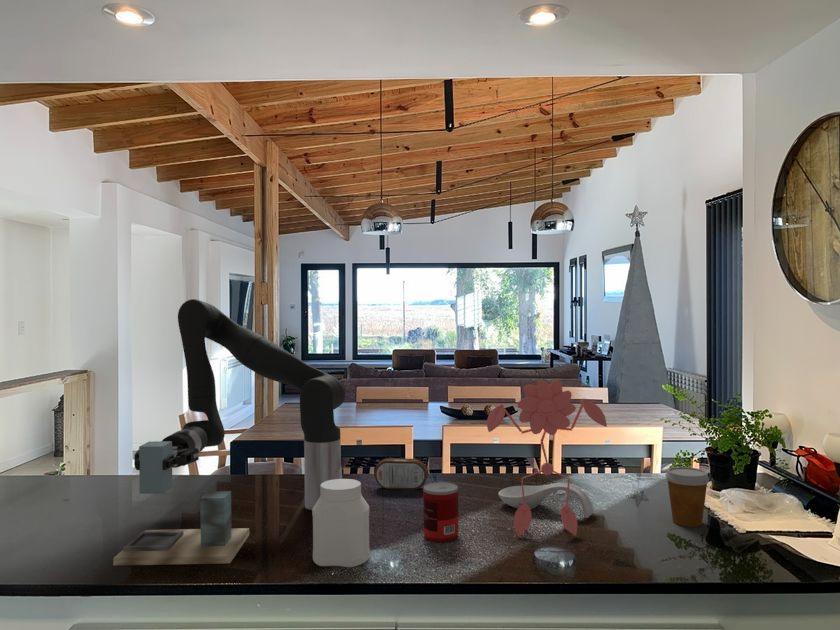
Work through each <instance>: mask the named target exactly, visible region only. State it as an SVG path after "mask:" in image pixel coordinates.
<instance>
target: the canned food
mask: <svg viewBox="0 0 840 630" xmlns="http://www.w3.org/2000/svg"><path fill="white" fill-rule="evenodd" d="M422 492H423V494H422V497H423V498H422V500H423V503H422V504H423V505H422V506H423V510H422V512H423V535H424V537H425V539H426V540H428V541H430V542H434V543H448V542H451V541H454V540H455V539H457V538H458V534H459V486H458V485H457V484H454V483H452V482H444V481H443V482H441V481H440V482H431V483H427V484H424V485H423V491H422Z"/></svg>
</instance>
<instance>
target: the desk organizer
mask: <svg viewBox="0 0 840 630" xmlns="http://www.w3.org/2000/svg"><path fill="white" fill-rule="evenodd" d="M199 502H200V503H199V504H200V506H199V510H200V512H199V513H200V514H199V515H200V517H199V519H200V522H199V523H200V528H188V529H186V528H184V529H183V528H181V529H178V528H177V529H176V528H175V529H145V530H144V531H141V532H140V533H138V534H137V535H136V536H135V537H134V538H133V539H131V540H130V541H129V542H128V543H126V545H124V546H122V550H121V551H119V552H118V553H117V554H116V555H115V556H114V557H113V560H112V561H113V564H112V565H113V566H155V565H156V566H158V565H163V566H164V565H207V564H208V565H209V564H213V565H215V564H217V565H218V564H219V565H220V564H231V562H232V561H233V559H234V558H235V557H236V555H237V554H238V552H239V551H240V549H241V548H242V547H243V545H244V543H245V542H246V541H247V540H248V538H249V536H250V528H249V527H244V528H243V527H242V528H240V527H239V528H232V491H231V490H212V491H210V490H209V491H206V492H205V493H204V494H203V495H202V496H201V497H200V498H199Z"/></svg>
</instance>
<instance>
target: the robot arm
mask: <svg viewBox="0 0 840 630" xmlns="http://www.w3.org/2000/svg"><path fill="white" fill-rule="evenodd" d="M177 323H178V328H179V332H180V337H181V344H182V348H183V353H184V354H183V355H184V359H185V367H186V376H187V377H186V378H187V379H186V380H187V403H188V409H189V410H190V411H191V412H194V413H195V412H196V413H204V414H205V415H206V417H207V419H203V420H202V419H201V420H195V421H189V422H186V423H185V424H184V425H183V427H182V430H178V431H175V432H174V433H171V434H169V435H168V436H166V437H164V438H162V440H161V441H172V454H171V456H169V457H167V458H165V459H164V460H163V461H162V469H163V470H167V469H169V468H170V467H172V469H175V468H180V467H185V466H187V465H189V464H192V463H194V462H196V461H199V460H200V459H199V457H200V455H199V454H200V453H201V452H202V451H203V450H204V449H205V448H209V447H216V446H219V445H221V444H222V442H223V440H224V439H225V432H226V431H225V428H224V425H223V421H222V418H221V416H220V414H219V410H218V409H219V408H218V405H217V389H216V380H215V375H214V370H213V367H212V365H211V361H210V359H209V357H208V353H207V349H206V348H207V347H206V339H208V340H210V341H212V342H214V343H216V344H218V345H220V346H222V347H224V349H226V350H227V351H228V352H229V353H230V354H231V355H232V356H233V357H234V358H235V359H236V360H237V361H238V363H240V364H241V365H243V366H244V367H246V368H247V369H248V370H251V371H252V372H254V373H255V374H257V375H258V376H261V377H263V378H266V379H268V380H271V381H275V382H277V383H281V384H284V385H288V386H290V387H293V388H295V389H296V390H298V391H300V393H299V413H300V414H299V415H300V426H301V430H302V433H303V439H304V440H303V448H304V449H303V451H304V452H303V454H304V455H303V456H304V457H303V459H304V460H303V461H304V464H303V465H304V508H305V509H306V510H308V511H312V509H313V507H314V506H315V504H316V502H317V501H318V499H319V498H320V495H321V494H320V492H321V491H320V485H321V484H322V483H323V482H325V481H328V480H334V479H343V474H342V473H343V471H342V470H343V467H342V463H341V459H342V458H341V456H342V455H341V453H342V452H341V449H342V448H341V445H342V444H341V428H340V427H339V426H338V425H336V423H335V416H334V415H335V414H334V411H335V410H336V409H338V408H339V407H340V406H342V404H343V403H344V402H345V399H346V390H345V387H344V385H343V384H342V382H341V381H340V380H339V379H338V378H337V377H335V376H333V375H331V374H329V373H327V372H325V371H323V370H320V369H318V368H315V367H314V366H312V365H309V364H307V363H306V362H304V361H303V360H301V359H300V358H299V357H297V356H295V355H294V354H292V353H290V352H289V351H288V350H286V349H284V348H282V347H281V346H279V345H278V344H277V343H275V342H273V341H272V340H270V339H268V338H266V337H265V336H263V335H262V334H259V333H257V332H256V331H254V330H251V329H249V328H247V327H244V326H242V325H240V324H238V323H237V322H235V321H234V320H233V319H232V318H231V317H229V316H227V315H226V313H223V311H221V310H220V309H218V308H217V307H216V306H215V305H213V304H210V303H209V302H206V301H203V300H200V299H197V298H196V299H194V298H193V299H188V300H186V301H184V302H183V303H182V304H181V305H180V307H179V309H178V312H177ZM133 460H134V461H133V463H134V468H135V470H136V471H139V470H140V461H139V449H138V450H137V451H136V452H135V453H134V458H133Z"/></svg>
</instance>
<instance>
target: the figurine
mask: <svg viewBox="0 0 840 630" xmlns="http://www.w3.org/2000/svg"><path fill="white" fill-rule="evenodd" d="M522 390H523V393H524V394H525V396H526V397H524V398H521V399H520V400H519V401H518V402H517V408H518V409H520V410H521V411H520V413H519V417H518V420H519V422H520V423H528V422H529V426H530V428H528V429H525V430H522V429H521V427H520V426H519V424H518V423H517V422H516V421H515V420H514V418H513V417H512V416H511V414H510V413H509V412H508V410H507V409H506V408H505V407H504V404H503V403H501V404H499V405H498V406H495V408H494V409H492V410H491V411H490V413H489V414H488V416H487V420H486V427H487V431H488V433H491V432H492V431H493V430H495V429H497V428H498V427H499V426H500V425H501V424H502V422H503V420H504V418H505V415H506V416H507V417H508V418H509V419H510V421H511V422H512V423H513V425H514V426H515V427H516V428H517V429H518V431H519V432H520V433H521V435H522V434H526V433H529V432H532V434H533V435H539V434H540V433H541V432H542V430H543V433H542V436H541V439H540V445H541V446H540V447H541V450H542V453H543V456H544V460H545V462H544V463H543V464H541V467H540V470H539V471H536V472H533V473H531V474H530V473H529V474H528V475H525V476H523V477H521V478H520V481H521V486H522V494H523V505H522V506H520V507H519V508H518V509H517V510H515V513H514V516H513V526H514V530H515V533H516V535H517V537H519V536H520V535H522V534H523V533H525V532H526V530H527V529H528V528H529V527H530V525H531V522H532V517H533V516H532V511H531V510H532V509H530V507H529V506H528V505H527V506H526V505H525V498H524V487H523V486H524V479H526V478H529V477H532V476H534V475H537V474H540V473H542V474H543V475H545V476H550V475H552V473H553V474H556V475H558V476H560V477H563V478H565V479H567V483H568V487H567V491H566V505H563V506H561V509H560V518H561V522H562V524H563V525H562V527H563V528H562V529H563V530H566V529H567V531H569V533H571V535H573V536H574V537H576V536H577V532H578V520H577V517H576V514H575V512H574V511H573V510H572V509H571V507H569V494H570V492H569V484H570V483H571V482H570V480H571V479H570V477H567V476H565V475H564V474H562V473H560V472H557V471H555V470H554V466H553V465H552V464H551V463H550V462H548V457H547V453H546V450H545V445H544V440H545V436H546V433H547V434H549V435H550V436H555V434H557V431H558V430H559V431H560V430H563V431H573V430H574V427H575V425H576V423H577V421H578V419H579V417H580V414H581V412H582V409H583V410H584V411H585V413H586V414H587V416H588V417H589V418H590V419H591V420H593V421H594V422H595V423H597V424H599V425H601V426H603V427H605V428H606V427H607V424H608V423H607V419H606V416H605V414H604V412H603V410H602V409H601V408H600V407H599V406H598V405H597V404H596V403H594V402H593V401H592V400H588V399H586V398H582V399H581V400H582V401H581V404H580V406H579V408H578V411H577V412H576V415H575V417H574V420H573V422H572V424H571V421H570V419H569V418H568V416H570V415H572V414H573V413H574V412H575V411H576V410H577V407H576V405H575V404H573V403H571V400H572V391H570V390H565V391H563V385H562V383H561V380H560V379H557V378H556V379H554V380H552V382H551V383H550V384H549V383H548V382H547V381H545V380H544V379H538V380H537V381H536V385H534V384H527V385H524V386H523V388H522ZM570 425H571V427H570ZM497 526H499V524H497ZM594 545H595V543H593V544H591V545H589V546H586V547H582V548H578V549H571V550H570V552H574V551H578V552H581V551H583V550H586V549H587V548H590V547H593V546H594ZM527 549H528V550H532V549H533V550H534V551H537V549H535V548H530V547H528V548H527ZM538 550H539V552H545V550H544V549H543V550H541V549H538ZM549 551H550V552H551V553H553V554H555V553H563V552H567V550H549Z"/></svg>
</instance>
